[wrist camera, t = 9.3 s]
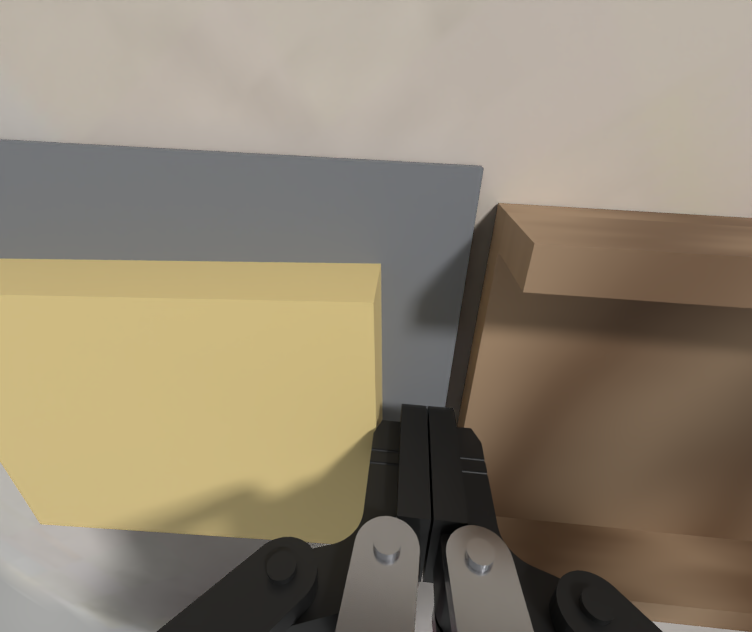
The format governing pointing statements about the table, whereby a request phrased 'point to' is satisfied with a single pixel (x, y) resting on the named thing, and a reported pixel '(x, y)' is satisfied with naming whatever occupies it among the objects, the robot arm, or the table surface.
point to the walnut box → (621, 402)
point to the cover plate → (191, 394)
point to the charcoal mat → (263, 228)
